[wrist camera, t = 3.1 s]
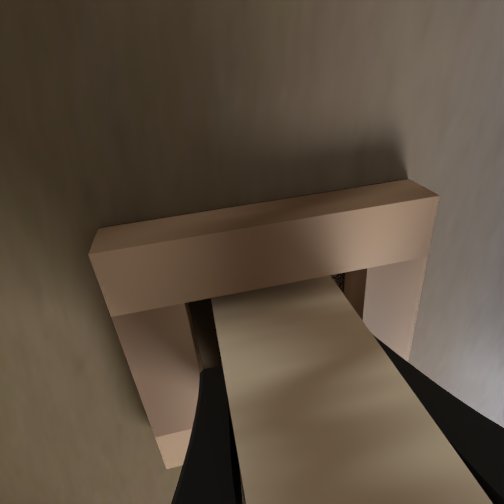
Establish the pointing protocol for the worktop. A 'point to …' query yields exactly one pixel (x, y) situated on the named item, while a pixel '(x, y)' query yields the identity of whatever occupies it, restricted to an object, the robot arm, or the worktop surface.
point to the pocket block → (256, 278)
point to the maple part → (327, 406)
